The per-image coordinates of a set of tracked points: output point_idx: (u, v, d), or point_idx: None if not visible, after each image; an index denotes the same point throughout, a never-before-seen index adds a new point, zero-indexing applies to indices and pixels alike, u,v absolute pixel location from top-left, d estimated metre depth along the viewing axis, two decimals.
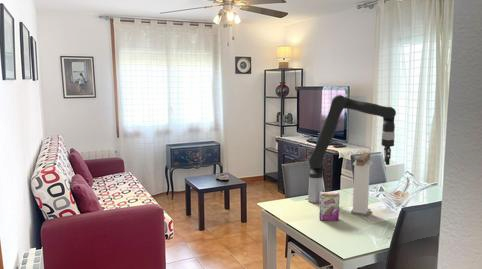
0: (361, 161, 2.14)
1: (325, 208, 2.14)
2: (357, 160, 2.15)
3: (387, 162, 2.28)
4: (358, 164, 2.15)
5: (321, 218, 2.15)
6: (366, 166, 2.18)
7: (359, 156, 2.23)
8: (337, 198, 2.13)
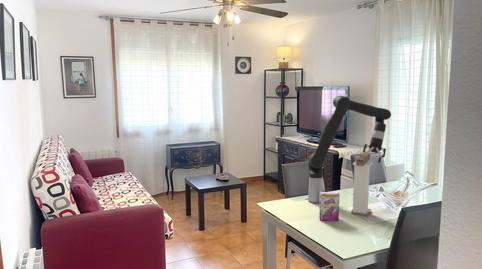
0: (361, 161, 2.14)
1: (325, 208, 2.14)
2: (357, 160, 2.15)
3: (380, 160, 2.44)
4: (358, 164, 2.15)
5: (321, 218, 2.15)
6: (366, 166, 2.18)
7: (359, 156, 2.23)
8: (337, 198, 2.13)
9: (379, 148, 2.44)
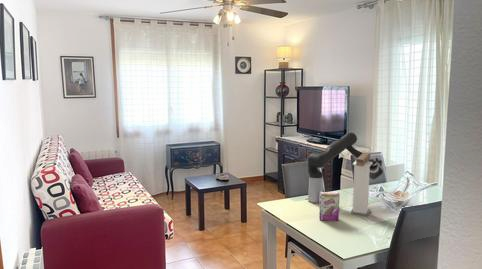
0: (361, 161, 2.14)
1: (325, 208, 2.14)
2: (357, 160, 2.15)
3: (377, 160, 2.44)
4: (358, 164, 2.15)
5: (321, 218, 2.15)
6: (366, 166, 2.18)
7: (359, 156, 2.23)
8: (337, 198, 2.13)
9: None
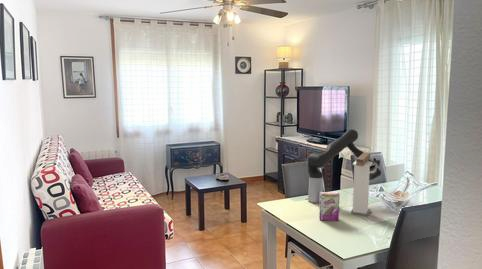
0: (361, 161, 2.14)
1: (325, 208, 2.14)
2: (357, 160, 2.15)
3: (375, 160, 2.36)
4: (358, 164, 2.15)
5: (321, 218, 2.15)
6: (366, 166, 2.18)
7: (359, 156, 2.23)
8: (337, 198, 2.13)
9: None
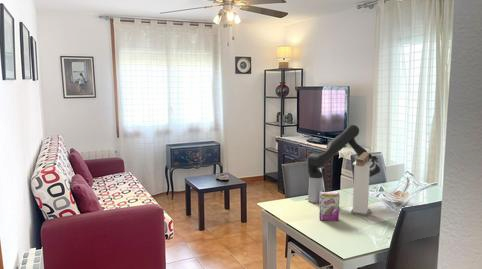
0: (361, 161, 2.14)
1: (325, 208, 2.14)
2: (357, 160, 2.15)
3: (371, 155, 2.31)
4: (358, 164, 2.15)
5: (321, 218, 2.15)
6: (366, 166, 2.18)
7: (359, 156, 2.23)
8: (337, 198, 2.13)
9: None
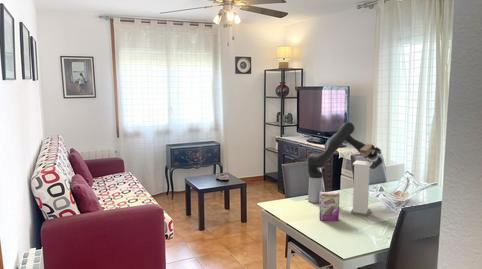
0: (364, 152, 2.22)
1: (325, 208, 2.14)
2: (360, 151, 2.23)
3: (374, 147, 2.39)
4: (361, 155, 2.23)
5: (321, 218, 2.15)
6: (366, 166, 2.18)
7: None
8: (337, 198, 2.13)
9: None
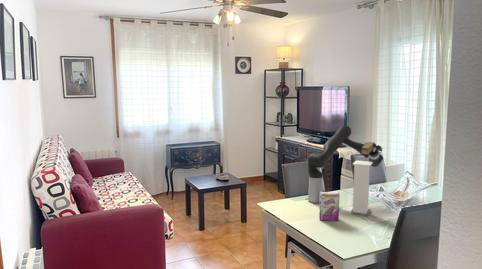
0: (366, 149, 2.28)
1: (325, 208, 2.14)
2: (362, 148, 2.29)
3: (375, 145, 2.44)
4: (363, 152, 2.29)
5: (321, 218, 2.15)
6: (366, 166, 2.18)
7: (364, 145, 2.36)
8: (337, 198, 2.13)
9: None
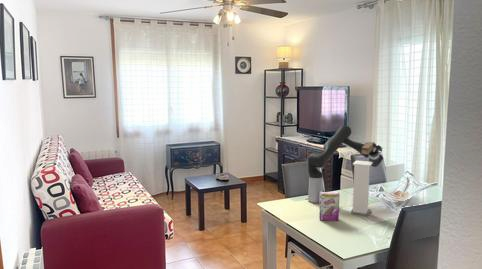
0: (366, 149, 2.28)
1: (325, 208, 2.14)
2: (362, 148, 2.29)
3: (375, 145, 2.44)
4: (363, 152, 2.29)
5: (321, 218, 2.15)
6: (366, 166, 2.18)
7: (364, 145, 2.36)
8: (337, 198, 2.13)
9: None
